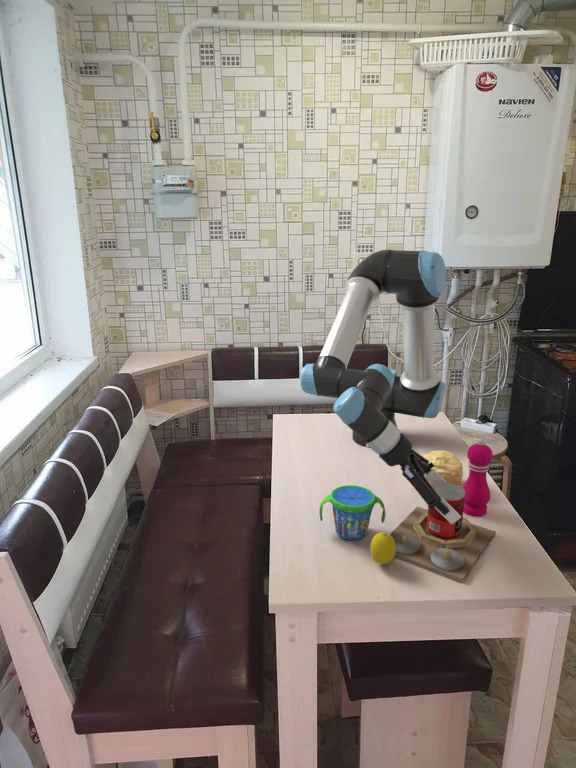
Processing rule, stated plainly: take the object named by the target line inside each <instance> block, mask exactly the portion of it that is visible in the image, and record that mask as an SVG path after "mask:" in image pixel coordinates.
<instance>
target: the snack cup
mask: <svg viewBox="0 0 576 768" xmlns="http://www.w3.org/2000/svg"><path fill="white" fill-rule="evenodd" d="M328 502H329V503H331V505H332V513H333V521H334V530H335V533H336V534H337V535H338V536H339V537H340V538H342V539H343V540H349V541H355V540H360V541H361V540H362V539H363V538H364V537H365V536H366V535H367V533H368V530H369V527H370V526H369V525H370V520H371V515H372V511H373V510H374V507H375V504H379V505H380V508H382V512H381V513H382V514H381V517H380V519H381V523H382V524H383V523H384V522H385V520H386V507H385V504H384V502H383V501H382V499H381V498H380V497H378V496H377V495H375V493H374V492H373V491H372V490H371V489H368V488H366V487H363V486H359V485H354V484H351V485H349V484H348V485H347V484H346V485H341V486H338V487H335V488H334V489H333V490H332V491H331V493H329V494H327V495H326V496H325V497H324V498H322V500H321V501H320V505H319V507H318V508H319V510H318V511H319V512H318V513H319V520H320V522H323V520H324V519H323V506H324V505H325V504H326V503H328Z"/></svg>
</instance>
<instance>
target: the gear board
mask: <svg viewBox="0 0 576 768" xmlns="http://www.w3.org/2000/svg"><path fill="white" fill-rule="evenodd" d="M404 518H405V519H403V520H402V522H400V523H399V524H398V525H397V526H396V527H395V529H393V531H391V532H390V533H389V534H390V535H391V536H392V537H393V539H394V541H395V544H396V553H395V557H394V559H398V560H400V561H403V562H406V563H409V564H411V565H413V566H417V567H418V568H421V569H424V570H427V571H430V572H432V573H434V572H435V573H434V574H437V573H438V575H440V574H441V575H440V576H442V575H443V577H445V578H447V579H450V578H451V580H453V579H454V580H453V581H455V580H457V581H456V582H458V581H459V582H458V583H460V584H463V583H464V581H465V580H466V578H467V577H468V575H469V574H470V573H469V572H471V571H472V569H474V567H475V565H476V564H477V563H478V562H479V560H480V558H481V557H480V556H482V555H483V554H484V553H485V551H486V549H487V548H488V546H489V545H490V544H489V543H491V542H492V541H493V539H494V538H495V536H496V533H497V531H495V530H493V529H489V528H486V527H483V526H480V525H477V524H475V523H471V522H470V521H469V520H468V519H467V518H466V517H464V516H463V519H462V529H461V533H460V535H459V536H458V537H456V538H454V539H441V538H438V537H435V536H433V535H432V534H431V533H430V532H429V531H428V528H427V518H428V508H424V507H420V506H416V507H415V508H414V509H413V510H412V511H411V512H410V513H409V515H407V516H406V517H404ZM462 582H463V583H462Z"/></svg>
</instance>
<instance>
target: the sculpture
mask: <svg viewBox="0 0 576 768" xmlns="http://www.w3.org/2000/svg"><path fill="white" fill-rule="evenodd" d="M422 456H423V457H424V458H425V459H427V460H428V461H429V463H428V464H430V463H431V462H432V463H433V464H434V467H433V468H431V469H434V470H435V471H436V472H437V473H438V474H439V475H440V476H441V477H442V478H443V479H444V480H445V481H446V482H447V483H452V484H455V485H458V486H460V485H461V483H462V480H463V477H464V468H463V463H462V462H461V460H460V458H459V457H458V456H456V455H455V454H454V453H452V452H450V451H447V450H432V451H431V452H428V453H426V454H423V455H422ZM425 474H426V473H425ZM425 474H424V476H425ZM425 478H426V477H425ZM426 479H427V478H426ZM427 480H428V479H427ZM428 482H429V483H430V484H431V486H432V485H433V484H432V483H431V482H430V481H429V480H428Z"/></svg>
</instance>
